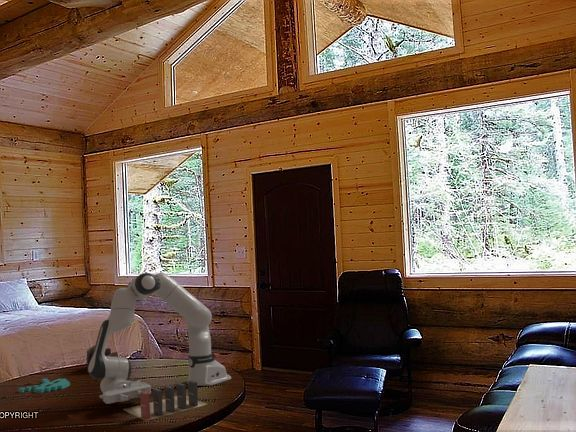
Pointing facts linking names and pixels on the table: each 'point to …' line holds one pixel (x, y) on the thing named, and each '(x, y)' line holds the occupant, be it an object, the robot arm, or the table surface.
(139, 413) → the birch board
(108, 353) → the letter holder
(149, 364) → the table surface
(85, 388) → the table surface
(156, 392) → the domino
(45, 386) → the alien figure
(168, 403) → the domino
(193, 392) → the domino
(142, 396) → the red domino
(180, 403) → the domino
